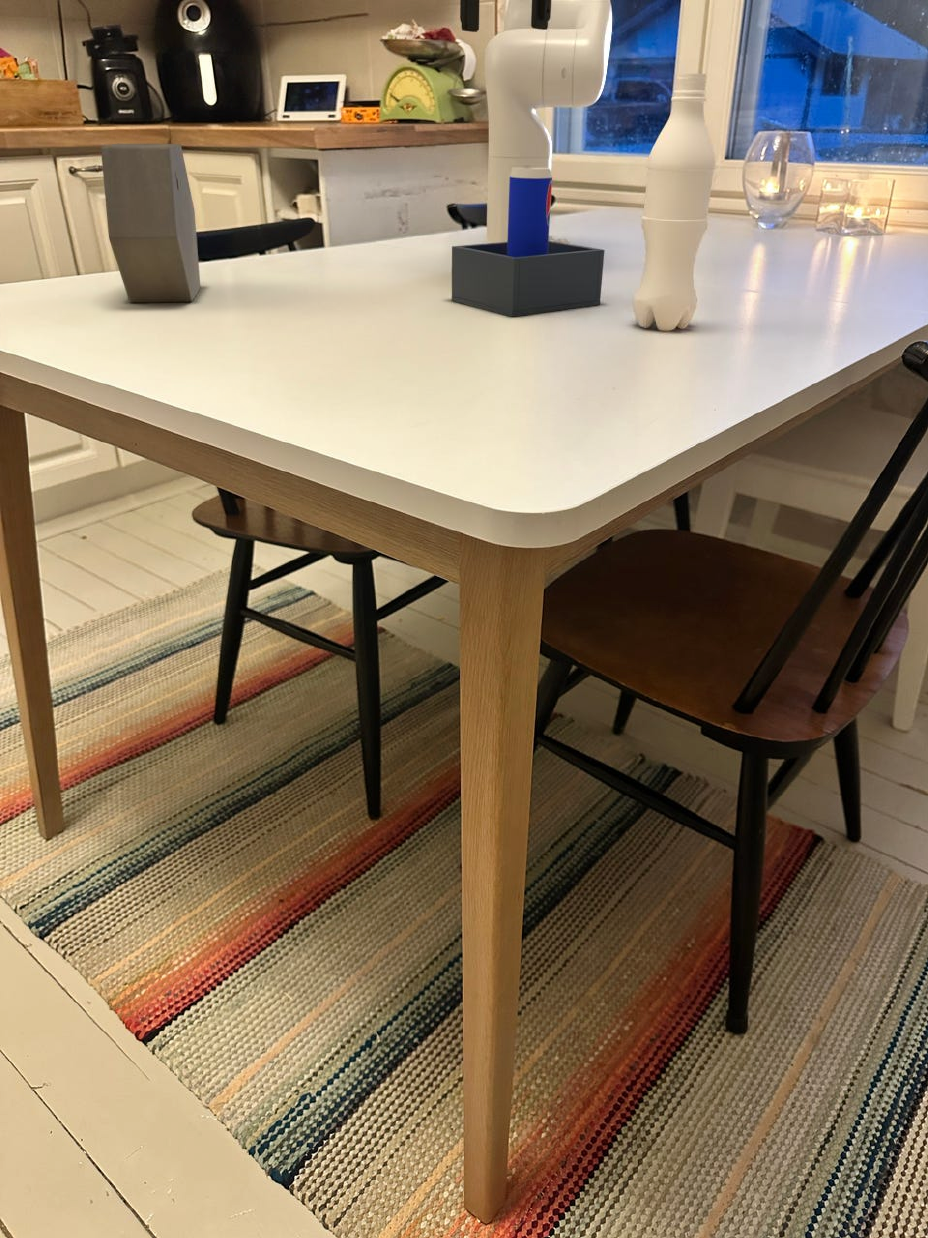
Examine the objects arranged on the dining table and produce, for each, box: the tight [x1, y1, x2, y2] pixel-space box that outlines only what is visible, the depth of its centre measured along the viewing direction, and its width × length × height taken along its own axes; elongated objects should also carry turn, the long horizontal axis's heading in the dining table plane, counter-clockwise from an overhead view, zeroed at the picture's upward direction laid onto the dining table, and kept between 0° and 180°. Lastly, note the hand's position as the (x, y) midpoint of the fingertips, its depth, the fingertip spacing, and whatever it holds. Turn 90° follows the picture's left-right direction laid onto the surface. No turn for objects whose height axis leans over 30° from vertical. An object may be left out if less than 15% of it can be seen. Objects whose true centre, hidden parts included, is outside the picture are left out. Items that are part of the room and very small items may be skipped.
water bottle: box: [632, 73, 716, 332], centre depth 97 cm, size 7×7×25 cm
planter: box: [100, 143, 201, 304], centre depth 111 cm, size 17×8×21 cm
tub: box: [451, 241, 605, 318], centre depth 113 cm, size 15×13×7 cm
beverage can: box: [507, 167, 553, 257], centre depth 111 cm, size 5×5×15 cm
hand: (504, 29), depth 108 cm, fingers open, 9 cm apart
